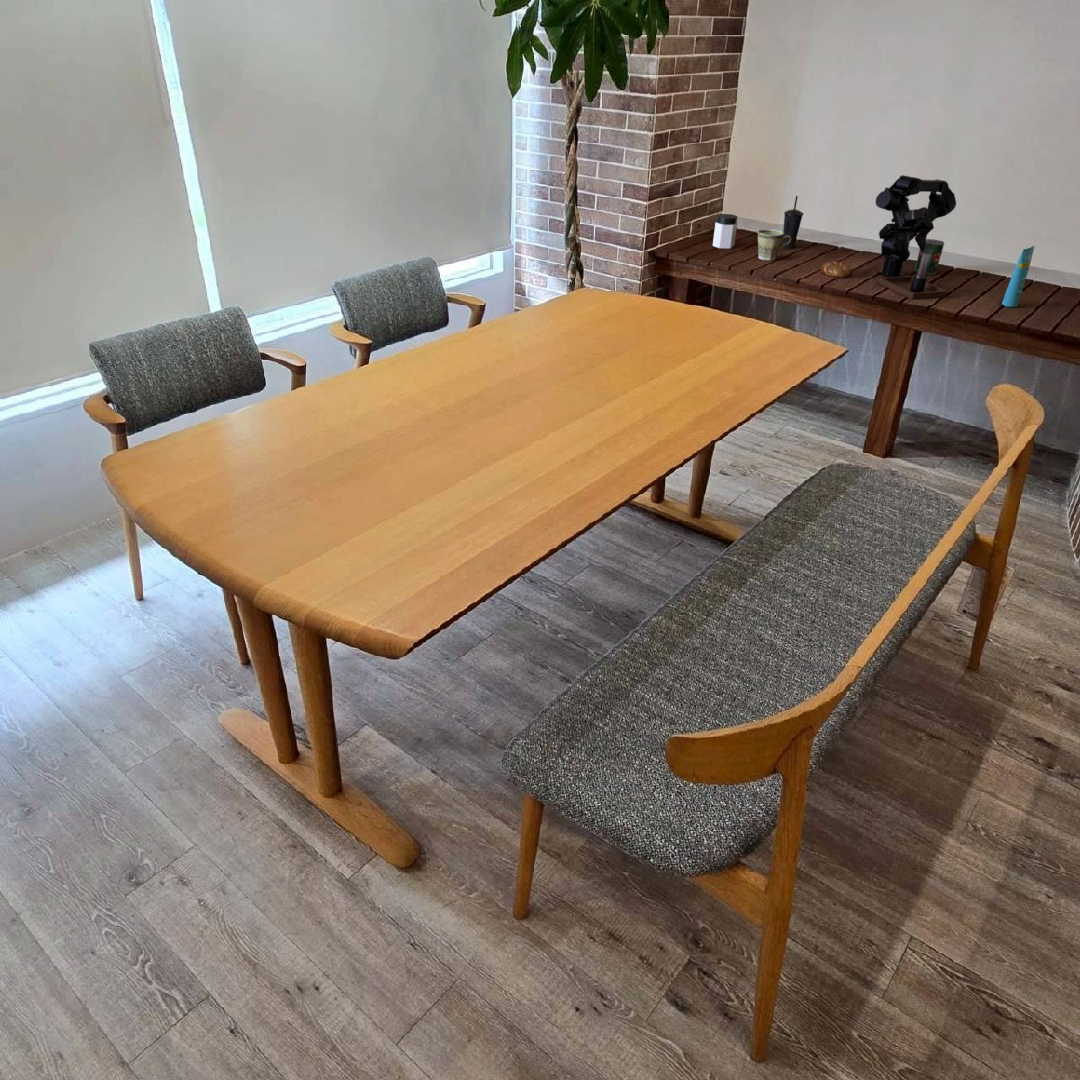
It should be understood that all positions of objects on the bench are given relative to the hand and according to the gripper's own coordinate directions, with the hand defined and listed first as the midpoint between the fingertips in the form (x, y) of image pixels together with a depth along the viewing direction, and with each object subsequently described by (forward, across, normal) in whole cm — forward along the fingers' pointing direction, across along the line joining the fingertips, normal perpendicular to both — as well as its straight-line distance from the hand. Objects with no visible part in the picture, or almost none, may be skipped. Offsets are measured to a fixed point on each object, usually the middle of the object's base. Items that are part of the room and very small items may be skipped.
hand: (912, 251), depth 294 cm
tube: (+28, +23, -11) cm, 38 cm away
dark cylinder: (+14, 0, +3) cm, 14 cm away
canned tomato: (-2, +21, +20) cm, 28 cm away
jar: (-38, -39, +56) cm, 78 cm away
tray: (+12, 0, +5) cm, 13 cm away
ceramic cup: (-23, -29, +40) cm, 55 cm away
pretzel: (-5, -15, +22) cm, 28 cm away
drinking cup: (-33, -13, +51) cm, 62 cm away
